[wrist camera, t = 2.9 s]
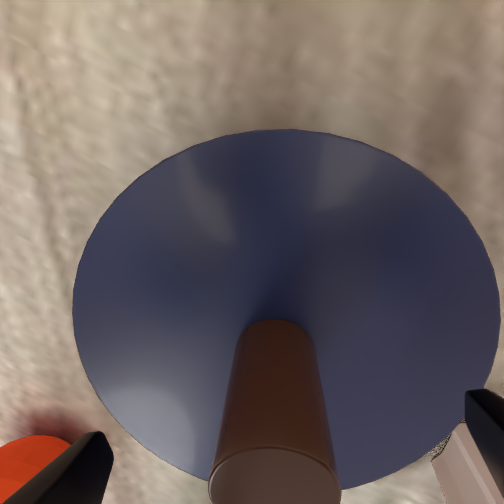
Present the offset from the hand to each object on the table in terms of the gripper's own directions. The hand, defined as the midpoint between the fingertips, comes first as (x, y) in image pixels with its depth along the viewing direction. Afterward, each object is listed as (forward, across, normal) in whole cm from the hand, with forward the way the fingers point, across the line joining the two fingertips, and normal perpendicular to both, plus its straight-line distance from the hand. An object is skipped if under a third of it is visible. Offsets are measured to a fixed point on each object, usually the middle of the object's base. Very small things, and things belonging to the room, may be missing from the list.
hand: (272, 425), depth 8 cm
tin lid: (+3, 0, 0) cm, 3 cm away
